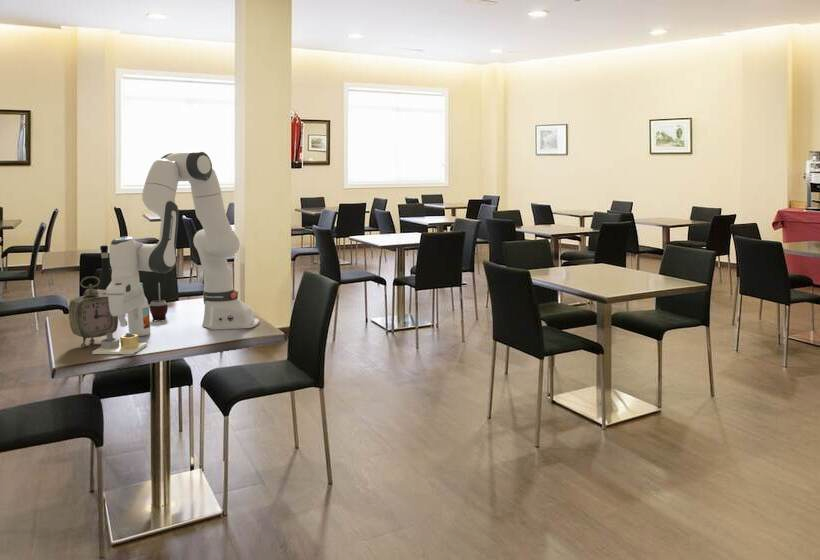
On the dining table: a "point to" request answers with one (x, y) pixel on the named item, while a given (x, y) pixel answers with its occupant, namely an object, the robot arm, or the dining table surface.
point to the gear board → (119, 350)
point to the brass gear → (129, 342)
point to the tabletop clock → (91, 314)
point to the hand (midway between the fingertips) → (130, 322)
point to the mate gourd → (158, 308)
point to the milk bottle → (140, 320)
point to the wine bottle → (104, 272)
